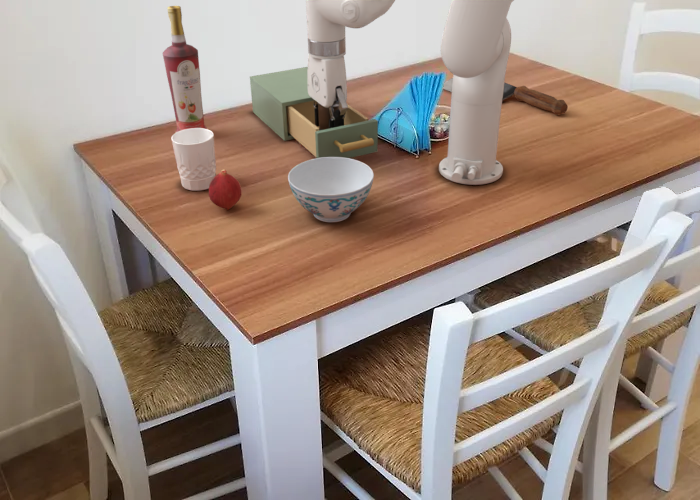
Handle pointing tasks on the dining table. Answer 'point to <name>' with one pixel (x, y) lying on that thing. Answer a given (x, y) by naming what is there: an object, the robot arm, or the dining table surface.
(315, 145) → the drawer
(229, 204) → the onion
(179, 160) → the white cup
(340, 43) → the robot arm
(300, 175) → the chinaware
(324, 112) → the pepper mill
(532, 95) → the meat cleaver
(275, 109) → the cabinet
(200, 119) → the liquor
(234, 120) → the dining table surface
